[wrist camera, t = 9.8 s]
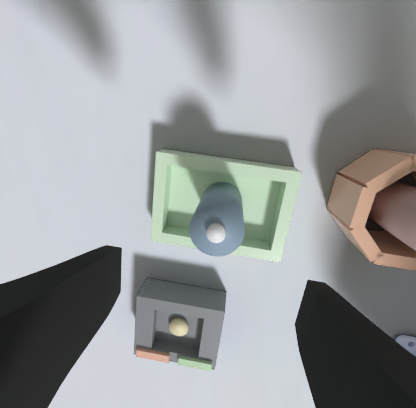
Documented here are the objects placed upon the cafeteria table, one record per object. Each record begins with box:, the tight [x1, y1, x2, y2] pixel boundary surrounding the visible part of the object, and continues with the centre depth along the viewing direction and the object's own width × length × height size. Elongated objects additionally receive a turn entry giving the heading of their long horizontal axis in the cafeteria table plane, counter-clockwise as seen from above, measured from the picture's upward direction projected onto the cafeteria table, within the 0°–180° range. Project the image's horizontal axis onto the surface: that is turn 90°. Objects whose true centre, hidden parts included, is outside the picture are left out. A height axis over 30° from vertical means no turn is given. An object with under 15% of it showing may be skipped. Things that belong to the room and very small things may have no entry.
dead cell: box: [368, 181, 416, 251], centre depth 15 cm, size 3×3×6 cm
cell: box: [189, 182, 245, 256], centre depth 16 cm, size 3×3×6 cm
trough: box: [151, 149, 302, 262], centre depth 19 cm, size 10×7×2 cm
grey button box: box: [134, 278, 226, 371], centre depth 22 cm, size 7×6×3 cm
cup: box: [327, 149, 416, 271], centre depth 16 cm, size 7×7×4 cm
